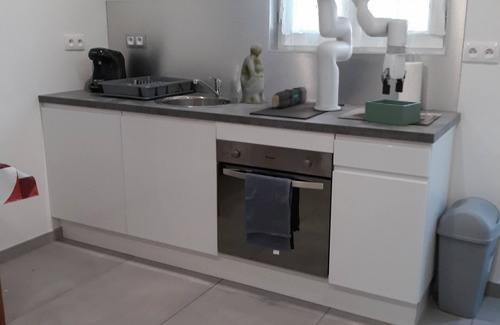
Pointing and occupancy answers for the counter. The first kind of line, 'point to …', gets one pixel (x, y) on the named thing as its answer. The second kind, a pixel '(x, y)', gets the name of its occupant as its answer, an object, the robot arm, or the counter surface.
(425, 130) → the counter surface
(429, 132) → the counter surface
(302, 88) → the dark brown log
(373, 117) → the bin
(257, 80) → the sculpture
